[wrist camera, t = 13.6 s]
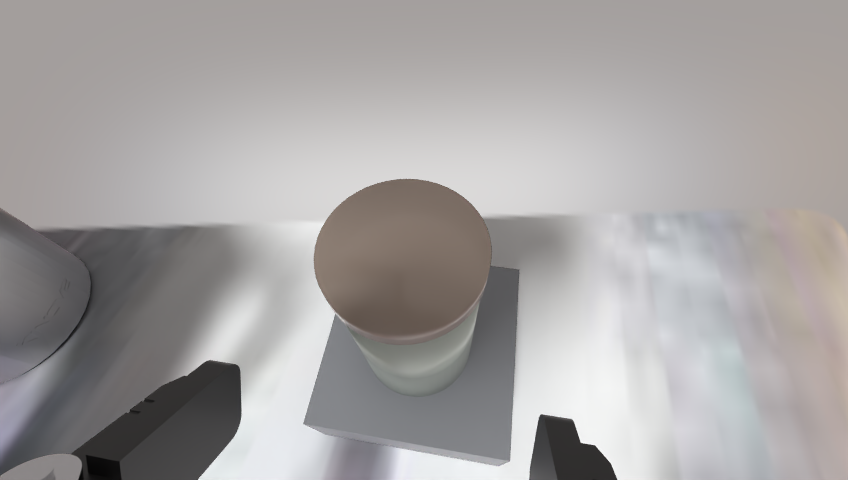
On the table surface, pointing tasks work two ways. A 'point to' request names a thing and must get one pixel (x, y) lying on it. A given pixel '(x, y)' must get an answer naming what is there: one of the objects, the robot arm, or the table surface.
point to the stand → (435, 414)
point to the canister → (406, 279)
